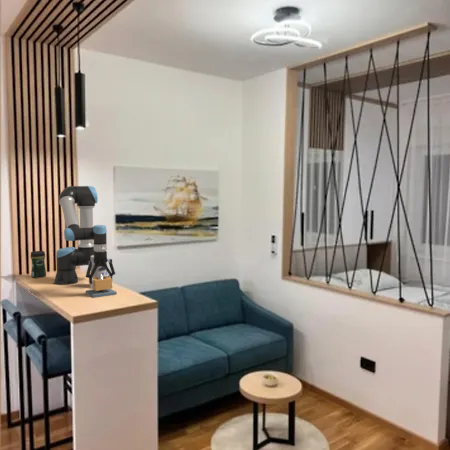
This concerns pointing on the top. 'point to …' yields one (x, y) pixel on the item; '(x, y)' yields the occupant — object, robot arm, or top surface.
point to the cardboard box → (102, 283)
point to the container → (98, 269)
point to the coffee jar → (38, 264)
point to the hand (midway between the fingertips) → (101, 287)
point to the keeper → (101, 291)
